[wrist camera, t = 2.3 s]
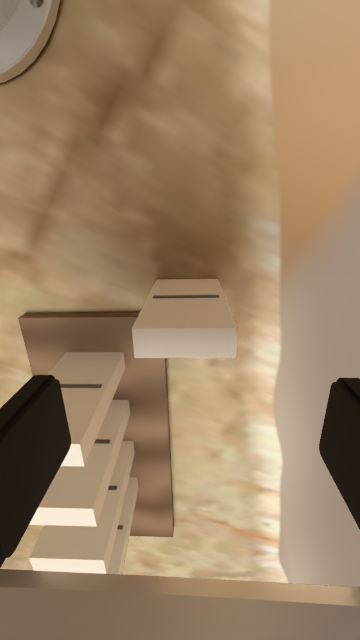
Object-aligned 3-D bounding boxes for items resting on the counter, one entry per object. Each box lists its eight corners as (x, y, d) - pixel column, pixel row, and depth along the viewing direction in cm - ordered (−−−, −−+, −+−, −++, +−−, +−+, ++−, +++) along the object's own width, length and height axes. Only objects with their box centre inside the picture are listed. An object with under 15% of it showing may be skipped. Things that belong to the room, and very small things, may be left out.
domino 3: (83, 439, 27) (28, 557, 18) (133, 440, 27) (103, 559, 18) (86, 453, 28) (34, 573, 19) (134, 454, 28) (106, 575, 19)
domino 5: (156, 278, 22) (131, 326, 13) (217, 277, 22) (237, 325, 13) (157, 299, 23) (134, 359, 14) (217, 298, 23) (235, 359, 14)
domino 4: (90, 475, 29) (44, 598, 20) (137, 476, 29) (112, 601, 20) (93, 487, 30) (49, 612, 21) (138, 488, 30) (114, 614, 20)
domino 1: (66, 351, 24) (-14, 441, 14) (123, 351, 24) (79, 442, 14) (69, 369, 24) (-5, 466, 15) (125, 369, 24) (84, 467, 15)
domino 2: (75, 398, 26) (9, 505, 16) (128, 398, 25) (92, 507, 16) (78, 414, 26) (17, 525, 17) (130, 414, 26) (96, 527, 17)
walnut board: (26, 312, 24) (18, 317, 23) (163, 311, 23) (162, 317, 22) (77, 523, 34) (73, 534, 33) (173, 526, 34) (173, 537, 33)
